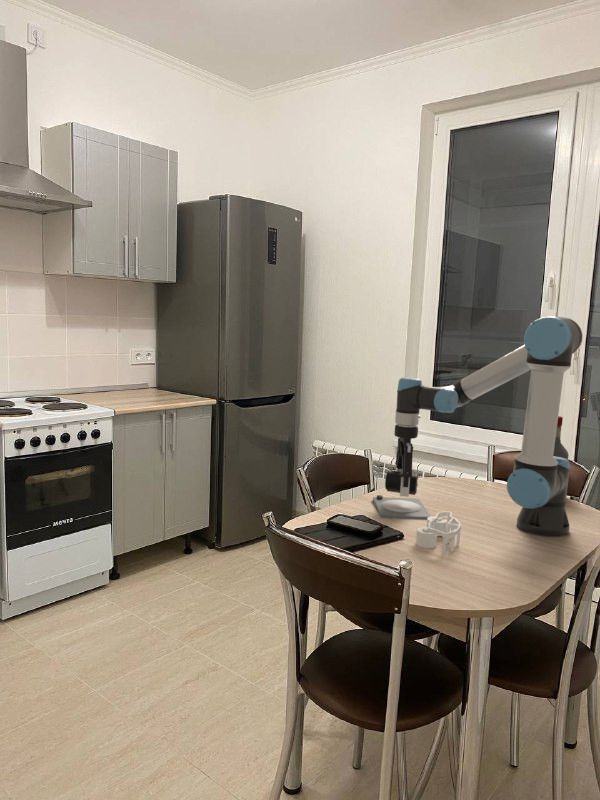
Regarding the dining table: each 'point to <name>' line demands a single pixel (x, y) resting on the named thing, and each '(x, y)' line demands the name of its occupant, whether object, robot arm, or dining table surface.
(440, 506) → the dining table surface
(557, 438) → the liquor
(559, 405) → the robot arm
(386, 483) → the end cap
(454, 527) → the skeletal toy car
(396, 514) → the plate
